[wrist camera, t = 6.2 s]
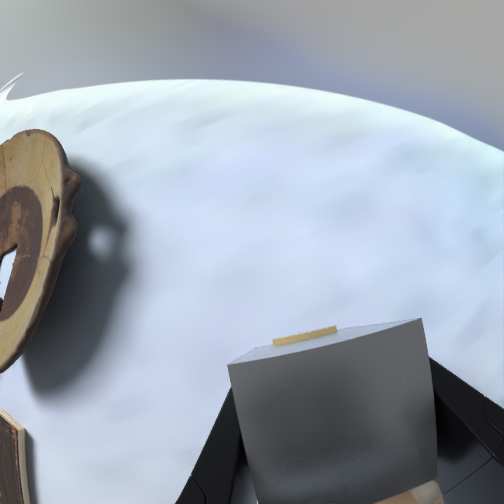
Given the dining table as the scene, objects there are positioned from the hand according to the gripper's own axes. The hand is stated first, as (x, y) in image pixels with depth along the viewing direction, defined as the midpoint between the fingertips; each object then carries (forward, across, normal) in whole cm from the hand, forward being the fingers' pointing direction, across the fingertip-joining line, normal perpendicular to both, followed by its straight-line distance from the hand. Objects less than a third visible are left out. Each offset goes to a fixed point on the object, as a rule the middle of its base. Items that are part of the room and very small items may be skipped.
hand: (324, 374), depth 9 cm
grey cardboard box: (+4, 0, +6) cm, 7 cm away
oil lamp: (+16, +27, -2) cm, 32 cm away
